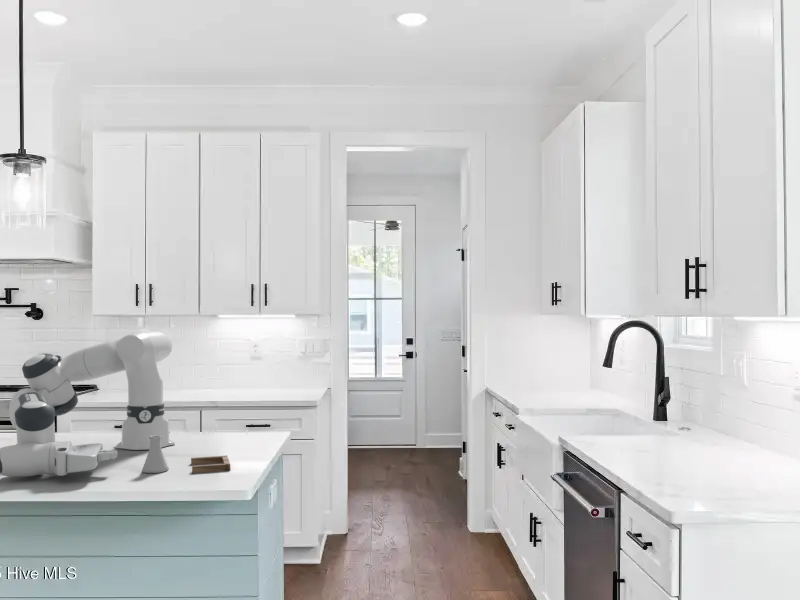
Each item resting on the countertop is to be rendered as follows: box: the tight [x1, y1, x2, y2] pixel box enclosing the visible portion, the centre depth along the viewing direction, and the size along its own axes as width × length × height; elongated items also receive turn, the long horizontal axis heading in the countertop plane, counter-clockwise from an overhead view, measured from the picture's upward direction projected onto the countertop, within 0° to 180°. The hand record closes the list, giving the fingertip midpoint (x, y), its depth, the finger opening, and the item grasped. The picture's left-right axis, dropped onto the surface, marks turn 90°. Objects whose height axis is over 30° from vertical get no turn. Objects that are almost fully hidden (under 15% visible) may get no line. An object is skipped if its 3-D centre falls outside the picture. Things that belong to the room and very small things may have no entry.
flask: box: [141, 435, 170, 474], centre depth 202 cm, size 7×7×10 cm
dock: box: [190, 455, 231, 474], centre depth 207 cm, size 13×10×2 cm
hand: (117, 454), depth 199 cm, fingers closed
